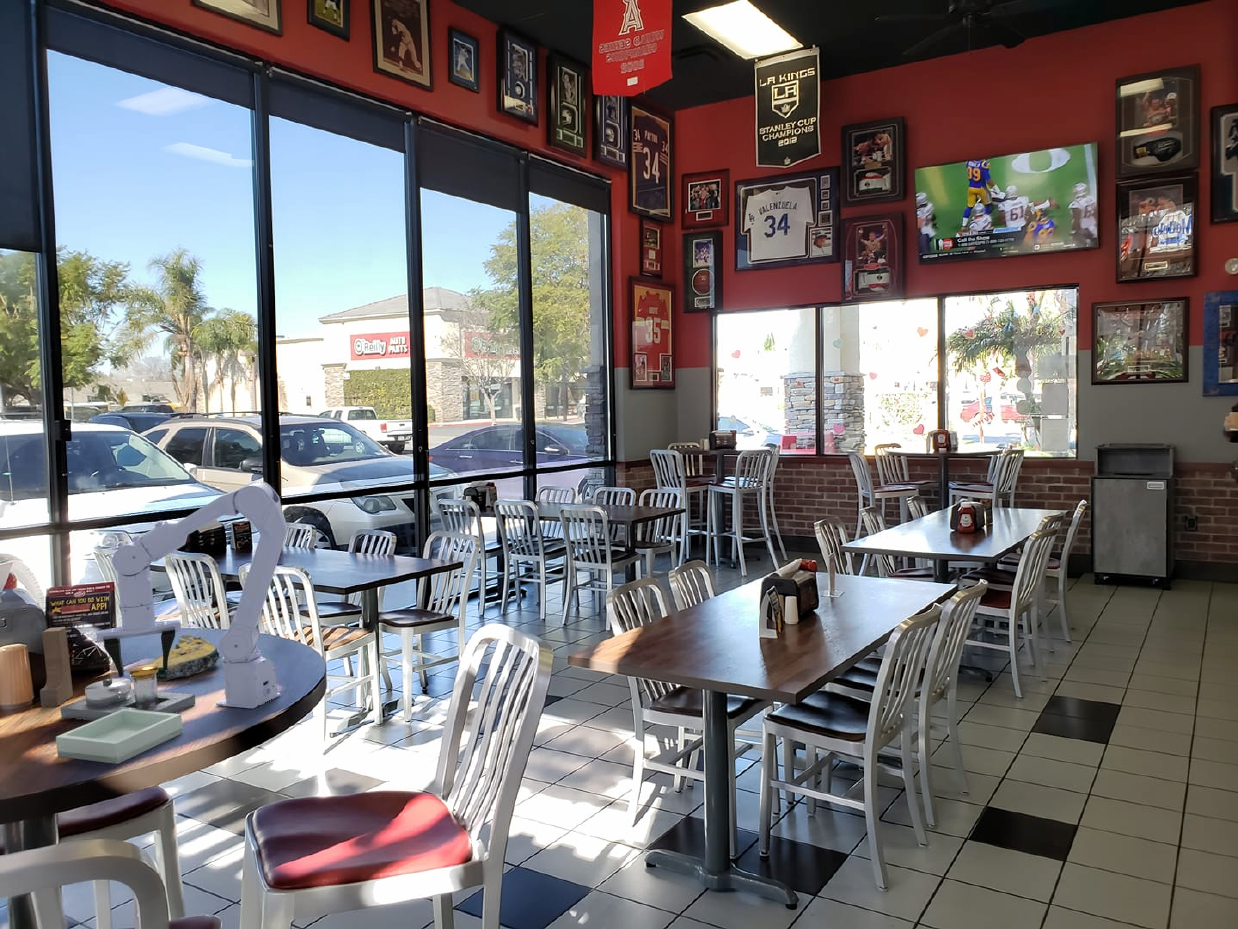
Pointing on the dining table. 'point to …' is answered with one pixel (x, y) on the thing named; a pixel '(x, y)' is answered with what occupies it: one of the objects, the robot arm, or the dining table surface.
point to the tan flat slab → (187, 658)
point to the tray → (119, 735)
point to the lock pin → (145, 685)
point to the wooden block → (56, 668)
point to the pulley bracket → (120, 701)
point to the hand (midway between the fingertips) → (143, 672)
